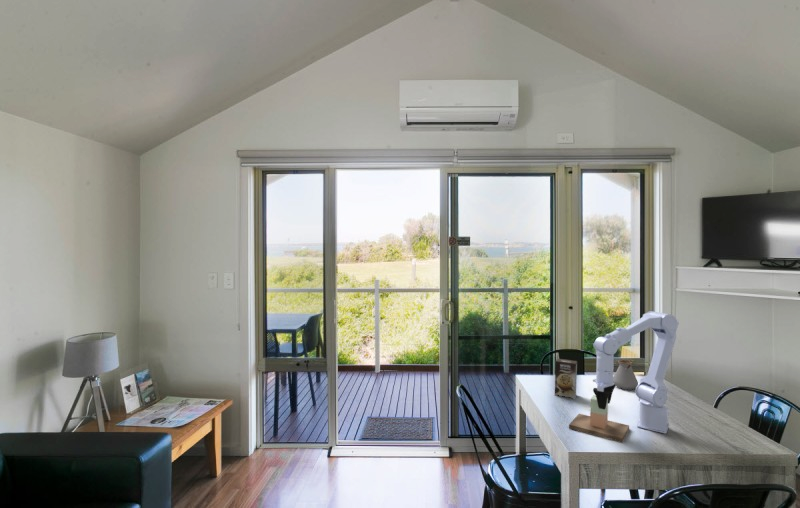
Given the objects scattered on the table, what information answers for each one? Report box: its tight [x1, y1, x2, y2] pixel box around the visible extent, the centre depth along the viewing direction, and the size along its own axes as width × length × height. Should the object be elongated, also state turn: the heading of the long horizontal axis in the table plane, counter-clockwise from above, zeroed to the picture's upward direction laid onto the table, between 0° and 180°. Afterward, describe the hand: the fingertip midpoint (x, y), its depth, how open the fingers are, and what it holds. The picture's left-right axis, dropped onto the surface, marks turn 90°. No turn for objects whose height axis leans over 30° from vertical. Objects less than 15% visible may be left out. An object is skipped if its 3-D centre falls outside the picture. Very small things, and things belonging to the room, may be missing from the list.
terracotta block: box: [589, 412, 609, 429], centre depth 156 cm, size 5×5×5 cm
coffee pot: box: [613, 359, 639, 391], centre depth 202 cm, size 21×12×15 cm, turn 158°
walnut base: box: [568, 413, 630, 443], centre depth 156 cm, size 18×14×2 cm
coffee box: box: [554, 357, 578, 399], centre depth 194 cm, size 9×6×16 cm
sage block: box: [589, 394, 609, 415], centre depth 156 cm, size 5×5×5 cm
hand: (604, 405), depth 155 cm, fingers open, 7 cm apart
